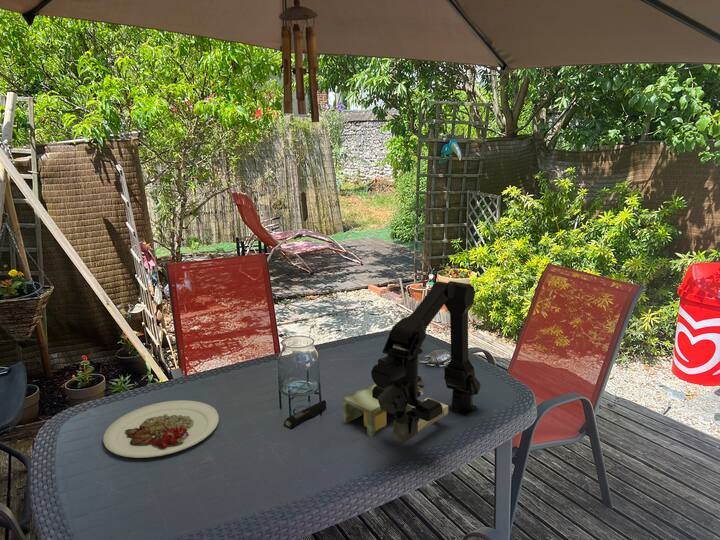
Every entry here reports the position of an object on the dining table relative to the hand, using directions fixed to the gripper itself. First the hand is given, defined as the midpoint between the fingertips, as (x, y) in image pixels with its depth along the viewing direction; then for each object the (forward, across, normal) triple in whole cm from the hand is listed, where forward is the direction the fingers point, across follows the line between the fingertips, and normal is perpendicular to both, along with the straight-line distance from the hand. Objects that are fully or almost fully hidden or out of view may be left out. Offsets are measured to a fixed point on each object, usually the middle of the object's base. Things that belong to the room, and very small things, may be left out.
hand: (405, 430), depth 129 cm
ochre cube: (+6, -14, +4) cm, 16 cm away
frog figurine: (+6, -22, +28) cm, 36 cm away
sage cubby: (+6, -16, +7) cm, 19 cm away
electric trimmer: (+6, -32, -7) cm, 33 cm away
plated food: (+6, -55, -39) cm, 68 cm away
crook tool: (+2, -2, +7) cm, 8 cm away
